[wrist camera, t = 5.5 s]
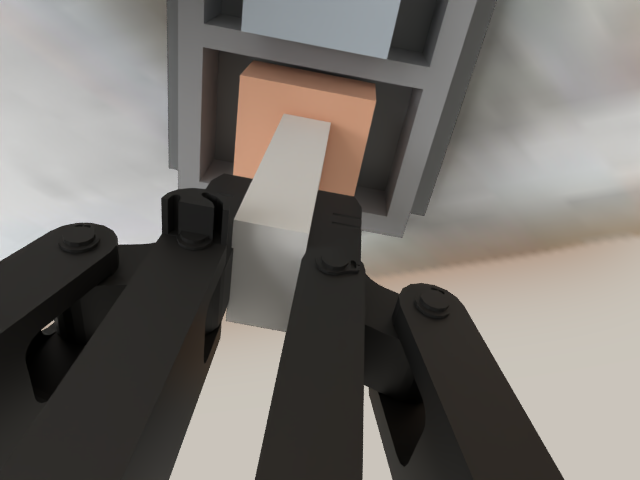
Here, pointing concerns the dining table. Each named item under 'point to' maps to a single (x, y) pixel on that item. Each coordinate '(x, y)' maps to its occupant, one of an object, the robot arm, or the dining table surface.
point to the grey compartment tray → (388, 75)
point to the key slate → (326, 23)
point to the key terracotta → (309, 102)
